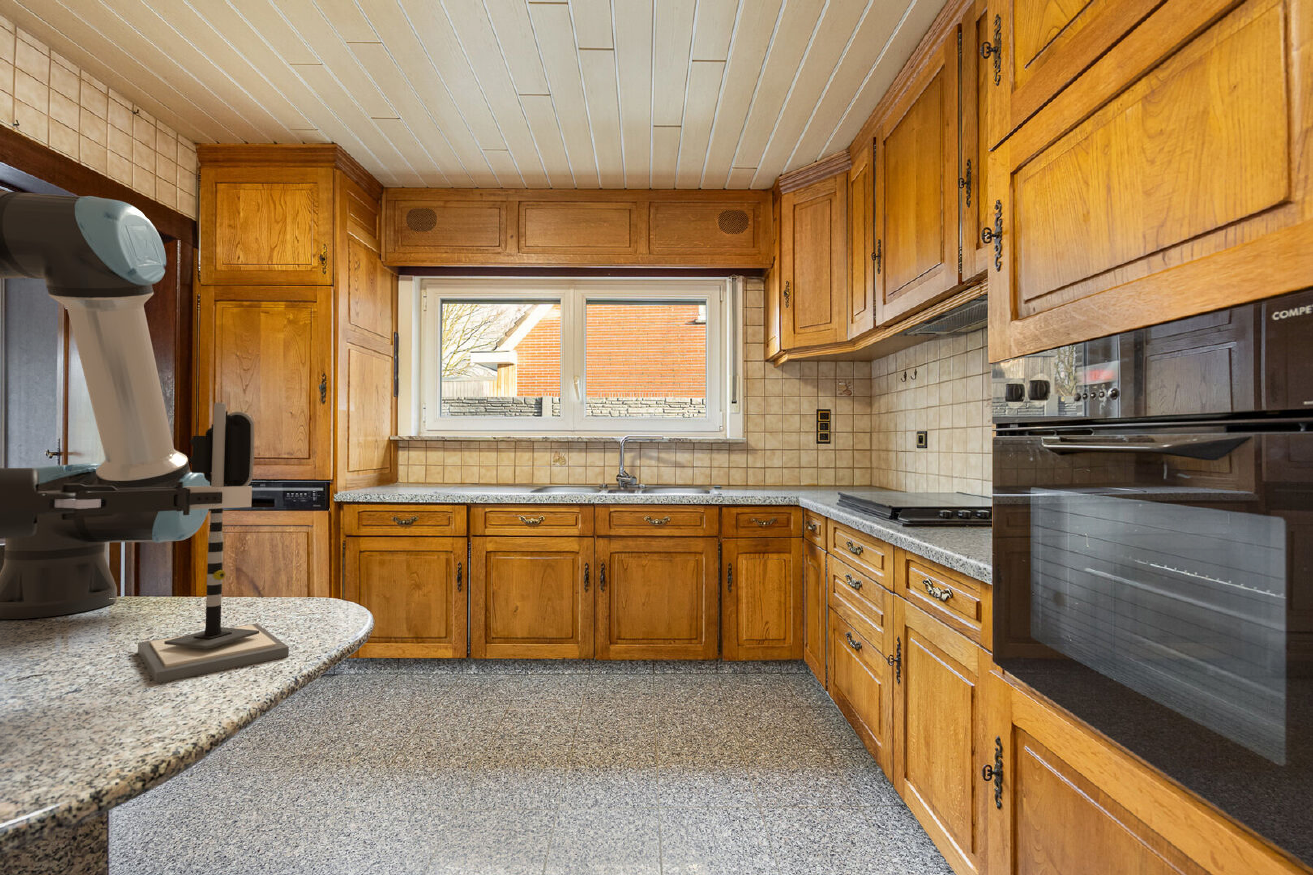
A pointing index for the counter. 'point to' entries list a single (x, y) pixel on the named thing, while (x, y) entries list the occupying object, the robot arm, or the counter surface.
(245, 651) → the plate
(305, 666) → the counter surface
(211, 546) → the miniature traffic light
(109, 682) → the counter surface
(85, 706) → the counter surface
